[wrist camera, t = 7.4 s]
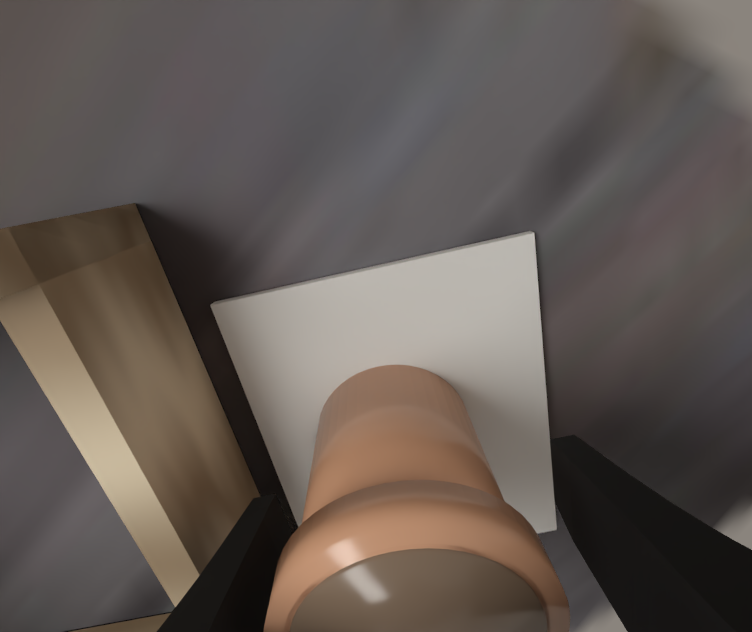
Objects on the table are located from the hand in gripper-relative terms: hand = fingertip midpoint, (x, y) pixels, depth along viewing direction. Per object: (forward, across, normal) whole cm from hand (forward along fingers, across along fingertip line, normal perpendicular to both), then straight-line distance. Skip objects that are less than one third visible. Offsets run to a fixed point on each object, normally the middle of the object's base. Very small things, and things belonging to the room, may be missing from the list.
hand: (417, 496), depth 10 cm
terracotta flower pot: (+3, 0, 0) cm, 3 cm away
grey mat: (+3, 0, 0) cm, 3 cm away
